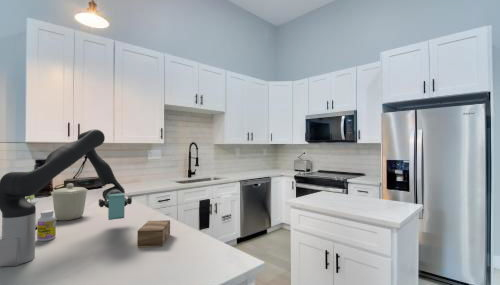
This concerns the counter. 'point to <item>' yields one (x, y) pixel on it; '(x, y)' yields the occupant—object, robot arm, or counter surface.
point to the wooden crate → (153, 233)
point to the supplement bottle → (46, 226)
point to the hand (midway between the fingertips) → (116, 204)
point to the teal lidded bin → (116, 206)
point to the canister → (69, 202)
